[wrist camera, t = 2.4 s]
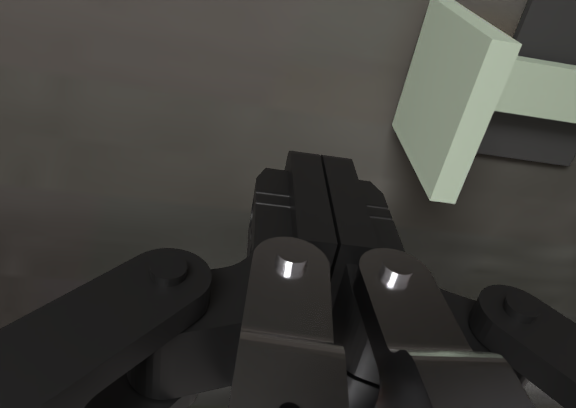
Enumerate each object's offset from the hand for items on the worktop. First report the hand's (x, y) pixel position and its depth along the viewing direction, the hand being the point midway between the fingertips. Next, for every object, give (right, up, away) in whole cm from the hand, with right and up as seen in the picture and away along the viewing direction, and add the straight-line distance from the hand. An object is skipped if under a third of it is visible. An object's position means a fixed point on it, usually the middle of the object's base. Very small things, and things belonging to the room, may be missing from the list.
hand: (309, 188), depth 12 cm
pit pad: (+12, +5, +12) cm, 18 cm away
